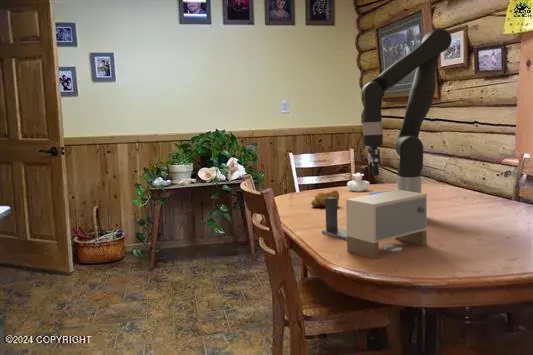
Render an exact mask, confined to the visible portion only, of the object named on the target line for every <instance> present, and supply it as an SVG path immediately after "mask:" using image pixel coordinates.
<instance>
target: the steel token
mask: <svg viewBox="0 0 533 355" xmlns="http://www.w3.org/2000/svg"><path fill="white" fill-rule="evenodd" d="M382 247H383V251H384V252H387V253H388V252H389V253H399V252H403V249H404V248H403V247H404V246H403V245H402V244H400V243H395V242H394V243H393V242H392V243H391V242H390V243H386V244H383V246H382Z"/></svg>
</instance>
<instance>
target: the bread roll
mask: <svg viewBox="0 0 533 355" xmlns="http://www.w3.org/2000/svg"><path fill="white" fill-rule="evenodd" d="M328 197H335V198H337V206H338V204H339V199H340V194H339V191H338V190H331V191H326V192H321V191H320V192H317V193H316V194H315V196H314V198H313V199H312V200H311V203H310V204H311V206H312V207H314V208H326V207H325V198H328Z"/></svg>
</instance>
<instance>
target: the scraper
mask: <svg viewBox="0 0 533 355" xmlns="http://www.w3.org/2000/svg"><path fill="white" fill-rule="evenodd" d="M324 208H325V229H322V230H321V233H322V234H323V235H327V236H330V237H334V238H337V239H340V240H345V241H347V229H344V228H340V227H339V226H338V205H337V198H335V197H328V198H325V207H324Z"/></svg>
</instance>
